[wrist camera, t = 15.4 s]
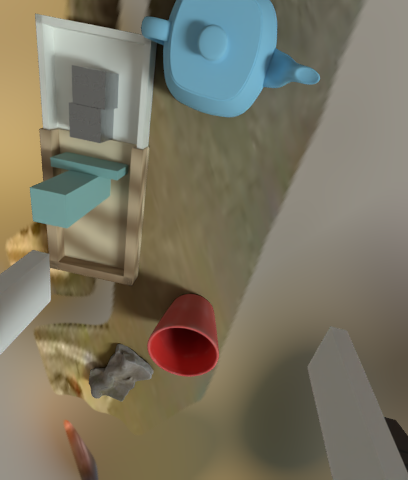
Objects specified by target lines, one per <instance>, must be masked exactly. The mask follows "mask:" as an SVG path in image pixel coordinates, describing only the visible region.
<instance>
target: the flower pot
mask: <svg viewBox="0 0 408 480" xmlns="http://www.w3.org/2000/svg"><path fill="white" fill-rule="evenodd" d="M147 346H148V352H149V355H150V357H151V358H152V360H153V361H154V362H155V363H156V364H157V365H158V366H159V367H161V368H162V369H164V370H165V371H167V372H170V373H172V374H176V375H180V376H198V375H202V374H204V373H207V372H209V371H210V370H212V369H213V368H214V367H215V365H216V364H217V362H218V359H219V349H218V340H217V331H216V323H215V316H214V310H213V307H212V305H211V304H210V303H209V302H208V301H207V300H206V299H205V298H203V297H201V296H199V295H195V294H185V295H181V296H179V297H178V298H176V299H175V300H174V302H173V303H172V304H171V306H170V307H169V308H168V310H167V311H166V313H165V314H164V316H163V317H162V318H161V320H160V322H159V323H158V325H157V326H156V328H155V329H154V331H153V333H152V334H151V336H150V338H149V340H148V345H147Z"/></svg>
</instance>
